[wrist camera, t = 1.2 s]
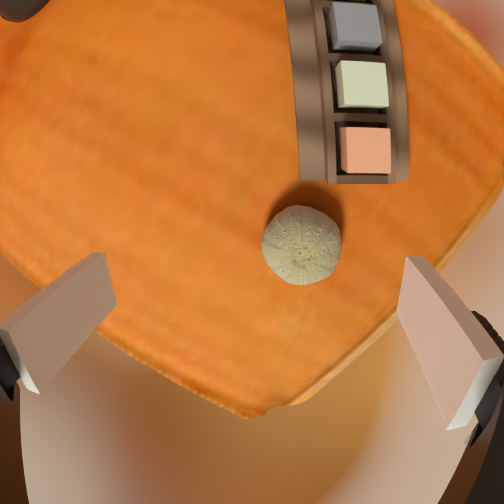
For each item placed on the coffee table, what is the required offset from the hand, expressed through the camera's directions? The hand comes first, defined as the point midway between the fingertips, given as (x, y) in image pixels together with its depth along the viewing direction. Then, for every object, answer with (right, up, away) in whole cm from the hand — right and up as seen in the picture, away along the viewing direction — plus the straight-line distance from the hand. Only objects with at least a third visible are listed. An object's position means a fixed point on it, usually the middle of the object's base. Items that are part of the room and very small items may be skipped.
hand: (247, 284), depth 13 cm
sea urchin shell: (+6, +3, +24) cm, 25 cm away
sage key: (+10, +17, +13) cm, 23 cm away
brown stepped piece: (+11, +21, +16) cm, 29 cm away
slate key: (+10, +22, +10) cm, 27 cm away
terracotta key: (+11, +11, +15) cm, 21 cm away
